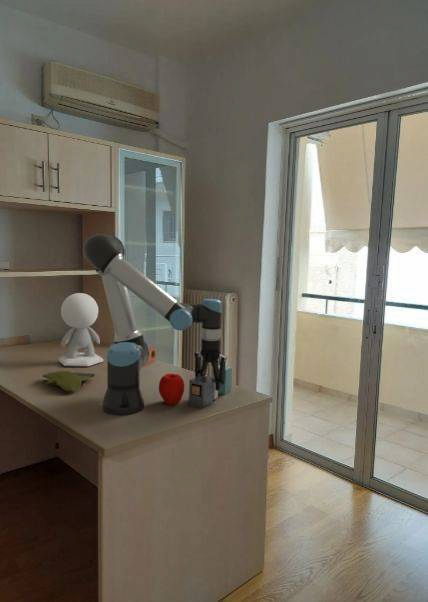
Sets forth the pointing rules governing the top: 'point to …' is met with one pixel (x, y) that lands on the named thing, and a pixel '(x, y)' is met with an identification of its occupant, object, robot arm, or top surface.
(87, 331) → the big headed doll
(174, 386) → the apple
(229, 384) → the socket block
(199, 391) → the collared tan post
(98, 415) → the top surface
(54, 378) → the toy airplane
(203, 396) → the sleeve
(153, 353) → the crank
